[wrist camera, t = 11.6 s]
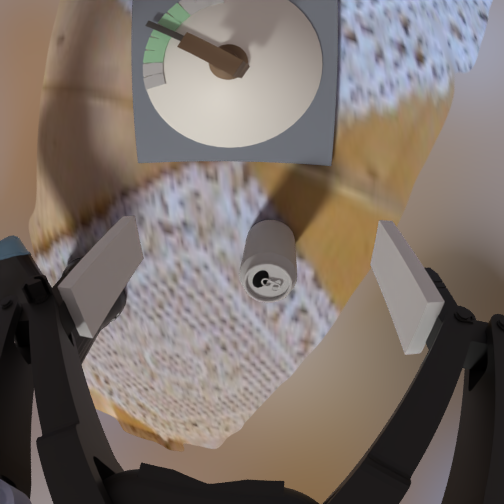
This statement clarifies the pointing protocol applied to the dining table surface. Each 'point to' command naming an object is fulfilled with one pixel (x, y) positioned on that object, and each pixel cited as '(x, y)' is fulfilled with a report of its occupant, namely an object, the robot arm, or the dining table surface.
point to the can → (269, 262)
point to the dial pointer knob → (211, 53)
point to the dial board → (236, 82)
